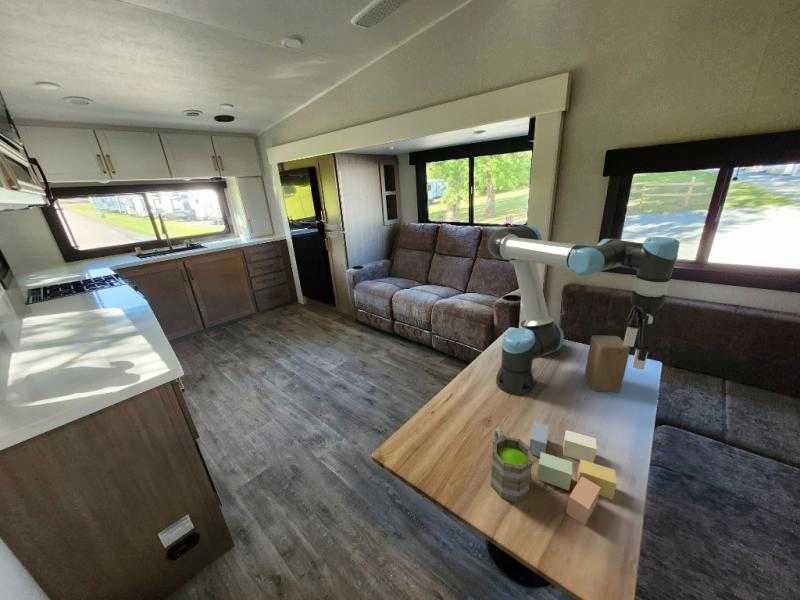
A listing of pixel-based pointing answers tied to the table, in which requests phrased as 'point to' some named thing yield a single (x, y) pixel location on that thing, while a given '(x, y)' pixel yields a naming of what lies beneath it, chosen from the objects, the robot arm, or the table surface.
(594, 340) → the wooden block
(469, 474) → the table surface
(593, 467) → the ochre brick
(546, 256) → the robot arm
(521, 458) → the mug
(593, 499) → the terracotta brick
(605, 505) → the table surface
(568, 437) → the cream brick
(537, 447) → the slate brick
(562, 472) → the sage brick
